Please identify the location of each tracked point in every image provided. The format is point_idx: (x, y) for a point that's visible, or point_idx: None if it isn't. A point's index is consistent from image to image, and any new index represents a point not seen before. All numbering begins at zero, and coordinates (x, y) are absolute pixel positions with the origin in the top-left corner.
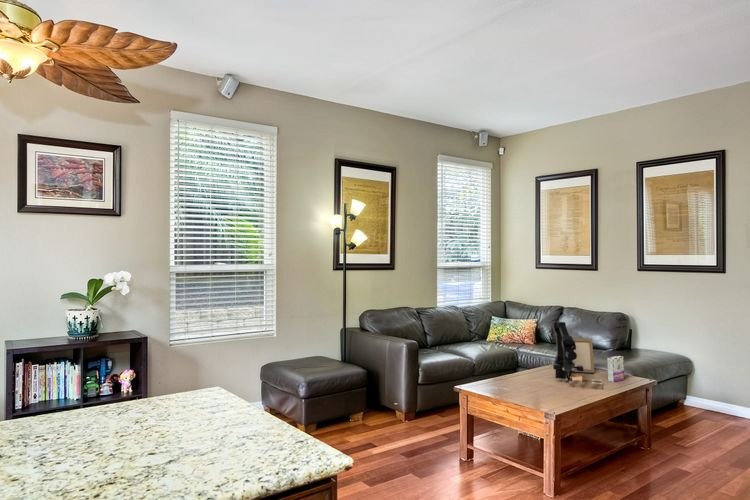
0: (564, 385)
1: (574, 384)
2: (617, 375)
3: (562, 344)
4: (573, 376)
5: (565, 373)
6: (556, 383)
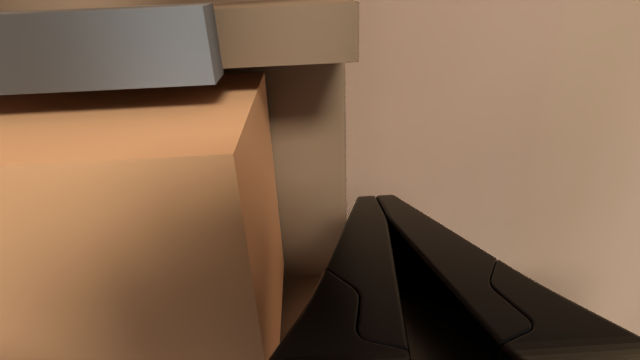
0: (448, 64)
1: (190, 3)
2: None
3: None
4: (204, 265)
5: (601, 320)
6: (598, 174)
